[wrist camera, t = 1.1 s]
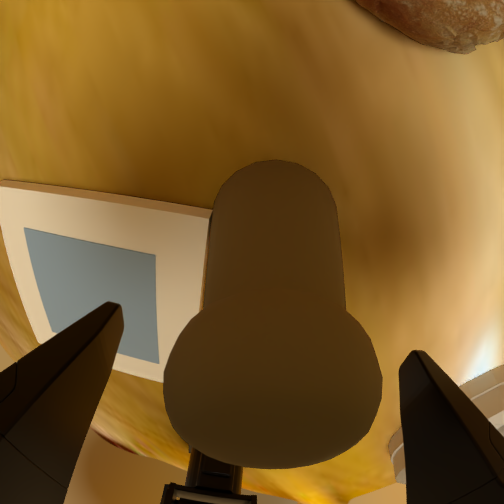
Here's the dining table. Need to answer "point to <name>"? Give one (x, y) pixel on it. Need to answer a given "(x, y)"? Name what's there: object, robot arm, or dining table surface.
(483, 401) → the dish
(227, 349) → the cork
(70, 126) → the dining table surface
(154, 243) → the plate
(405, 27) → the bread roll
